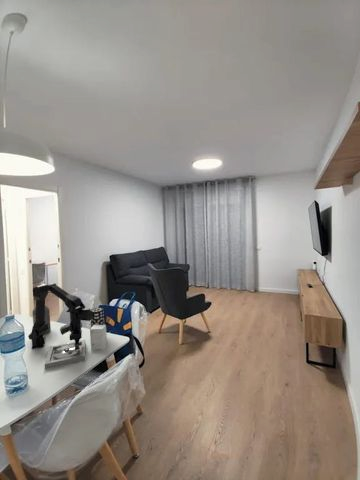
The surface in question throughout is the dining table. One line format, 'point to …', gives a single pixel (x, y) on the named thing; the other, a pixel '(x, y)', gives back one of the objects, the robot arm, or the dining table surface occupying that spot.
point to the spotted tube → (97, 316)
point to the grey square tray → (53, 362)
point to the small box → (98, 337)
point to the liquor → (47, 317)
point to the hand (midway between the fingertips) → (77, 344)
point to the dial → (66, 351)
